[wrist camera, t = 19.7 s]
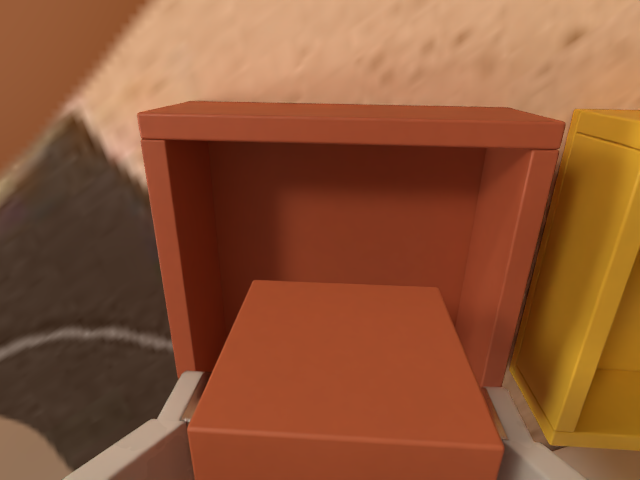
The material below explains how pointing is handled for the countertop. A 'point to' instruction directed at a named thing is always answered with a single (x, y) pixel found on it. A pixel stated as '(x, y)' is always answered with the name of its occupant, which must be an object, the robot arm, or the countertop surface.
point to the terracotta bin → (347, 210)
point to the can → (602, 462)
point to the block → (343, 390)
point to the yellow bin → (587, 292)
